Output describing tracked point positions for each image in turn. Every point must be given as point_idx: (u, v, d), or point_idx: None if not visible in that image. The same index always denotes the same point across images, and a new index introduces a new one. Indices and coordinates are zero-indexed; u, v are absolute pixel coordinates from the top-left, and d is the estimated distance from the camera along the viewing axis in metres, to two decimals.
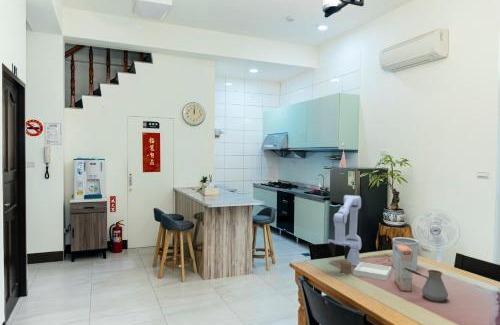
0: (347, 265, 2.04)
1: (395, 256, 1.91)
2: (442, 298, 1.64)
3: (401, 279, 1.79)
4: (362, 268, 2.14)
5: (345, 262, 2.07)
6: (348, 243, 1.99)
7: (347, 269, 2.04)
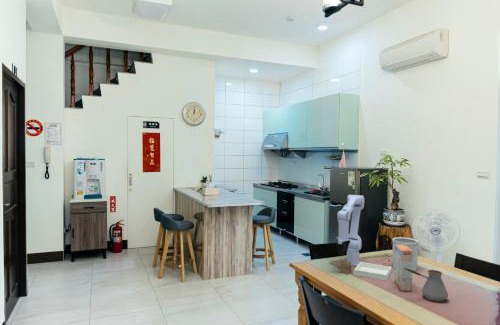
0: (347, 265, 2.04)
1: (395, 256, 1.91)
2: (442, 298, 1.64)
3: (401, 279, 1.79)
4: (362, 268, 2.14)
5: (345, 262, 2.07)
6: (340, 240, 2.05)
7: (347, 269, 2.04)
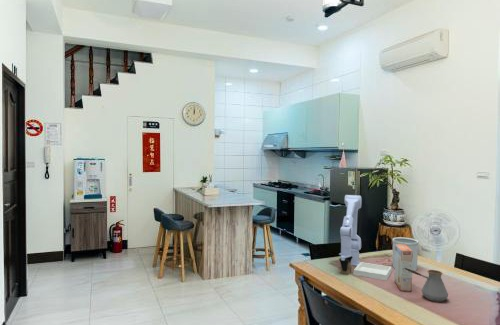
0: None
1: (395, 256, 1.91)
2: (442, 298, 1.64)
3: (401, 279, 1.79)
4: (362, 268, 2.14)
5: None
6: (343, 256, 2.03)
7: (347, 269, 2.04)
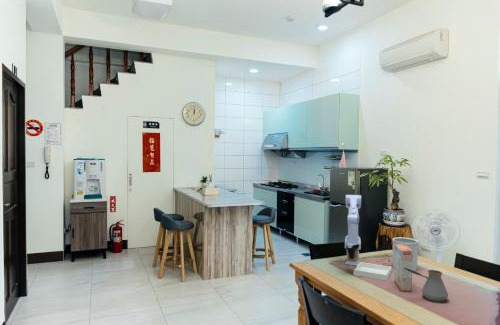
0: (354, 253, 2.04)
1: (395, 256, 1.91)
2: (442, 298, 1.64)
3: (401, 279, 1.79)
4: (362, 268, 2.14)
5: None
6: (350, 244, 2.02)
7: (354, 257, 2.04)
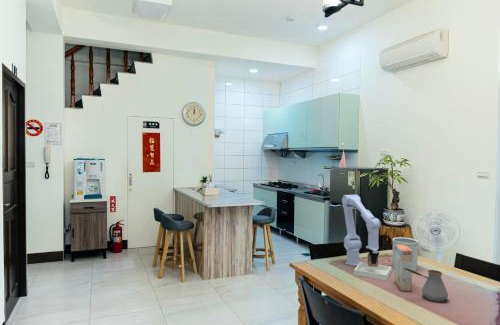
0: None
1: (395, 256, 1.91)
2: (442, 298, 1.64)
3: (401, 279, 1.79)
4: (362, 268, 2.14)
5: None
6: (374, 249, 2.01)
7: (376, 261, 2.03)
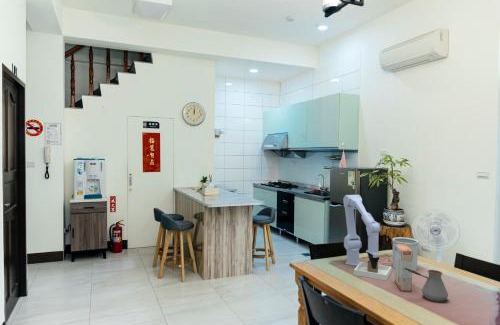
0: None
1: (395, 256, 1.91)
2: (442, 298, 1.64)
3: (401, 279, 1.79)
4: (362, 268, 2.14)
5: None
6: (374, 253, 2.01)
7: (376, 269, 2.04)
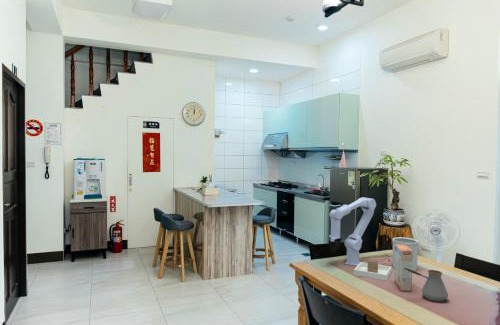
0: (376, 265, 2.03)
1: (395, 256, 1.91)
2: (442, 298, 1.64)
3: (401, 279, 1.79)
4: (362, 268, 2.14)
5: (372, 262, 2.06)
6: (332, 237, 2.15)
7: (376, 269, 2.04)
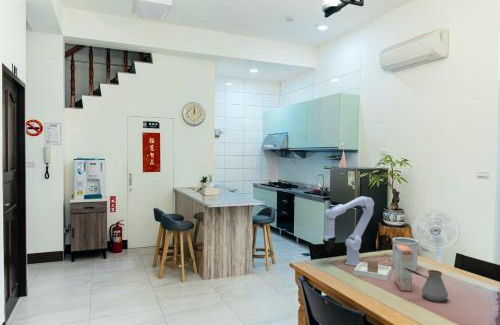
0: (376, 265, 2.03)
1: (395, 256, 1.91)
2: (442, 298, 1.64)
3: (401, 279, 1.79)
4: (362, 268, 2.14)
5: (372, 262, 2.06)
6: (326, 237, 2.18)
7: (376, 269, 2.04)
